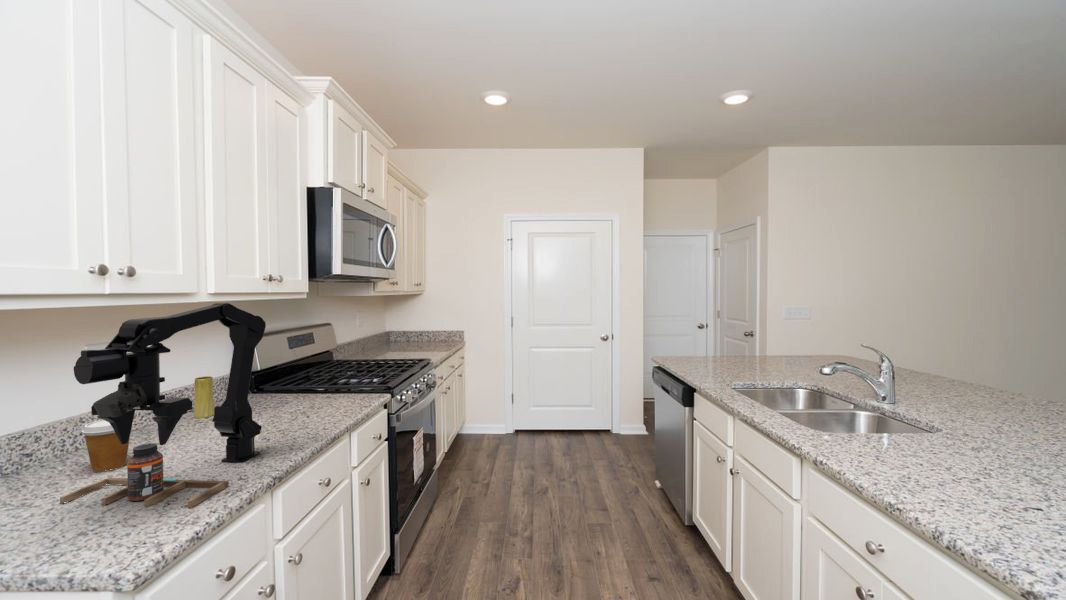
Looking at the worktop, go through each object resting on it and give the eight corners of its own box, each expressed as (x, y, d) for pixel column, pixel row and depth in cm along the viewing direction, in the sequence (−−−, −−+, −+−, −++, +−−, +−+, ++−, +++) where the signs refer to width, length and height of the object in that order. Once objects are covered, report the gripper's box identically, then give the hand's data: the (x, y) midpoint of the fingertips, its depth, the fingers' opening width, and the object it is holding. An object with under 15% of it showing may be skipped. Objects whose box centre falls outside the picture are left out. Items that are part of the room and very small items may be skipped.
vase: (189, 417, 153) (188, 378, 153) (206, 412, 159) (206, 375, 159) (201, 418, 152) (201, 379, 151) (218, 414, 158) (218, 376, 157)
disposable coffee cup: (136, 466, 110) (135, 421, 110) (83, 478, 103) (82, 430, 103) (132, 457, 116) (131, 414, 116) (82, 468, 109) (81, 422, 109)
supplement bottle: (156, 499, 93) (155, 448, 92) (121, 504, 90) (120, 452, 90) (168, 487, 98) (167, 439, 98) (136, 492, 96) (134, 443, 96)
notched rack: (109, 482, 101) (109, 476, 101) (228, 486, 99) (228, 479, 99) (60, 504, 91) (59, 497, 91) (191, 508, 89) (191, 501, 89)
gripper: (61, 382, 86) (62, 457, 86) (146, 383, 85) (147, 459, 85) (118, 372, 97) (119, 438, 97) (194, 372, 96) (194, 440, 96)
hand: (143, 444), depth 94 cm, fingers open, 9 cm apart
